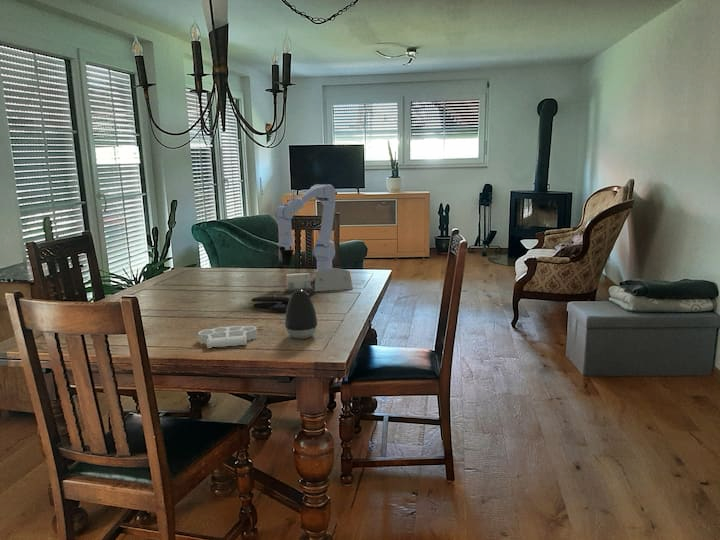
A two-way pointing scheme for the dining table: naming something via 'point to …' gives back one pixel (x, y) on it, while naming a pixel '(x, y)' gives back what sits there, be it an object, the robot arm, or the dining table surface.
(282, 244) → the robot arm
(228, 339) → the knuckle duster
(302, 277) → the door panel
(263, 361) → the dining table surface
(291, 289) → the clip bracket
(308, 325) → the dark grey tapered dome
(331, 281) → the grey curved block
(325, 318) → the dining table surface
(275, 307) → the can opener
